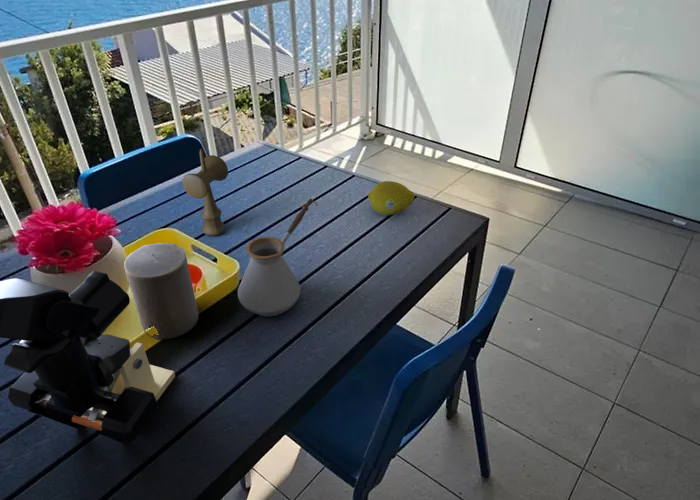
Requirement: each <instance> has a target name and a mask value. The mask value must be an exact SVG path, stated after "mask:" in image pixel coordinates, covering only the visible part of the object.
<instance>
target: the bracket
mask: <svg viewBox="0 0 700 500" xmlns="http://www.w3.org/2000/svg"><path fill="white" fill-rule="evenodd" d="M119 371H120V375H119V377H118V380H117V382H116V384H115V386H114V388H113V390H112V392H113V393H116V394H121V393H122V392H123V391H124V389H125V388H128V387H135V388H138V389H141V390H145V391H148V392H152V393H154V396H155V398H156V401H157V402H158V400H159V399H160V398H161V396H162V395H163V394H164V392H165V391H166V389H167V388H168V387H169V386H170V384H171V383H172V382H173V380H174V379H175V378H176V373H175V371H174V370H171V369H167V368H163V367H160V366H158V365H157V366H156V365H153V364H150V362H149V359H148V356H147V352H146V349H145V347H144V344H143V343H142V342H141V343H140V342H137V341H136V342H135V344H134V345H133V346H132V347H130V357H129V359H128V360H127V361H126V362H125V363H124V364H123V365H122V368H120V369H119ZM92 408H93V407H92ZM92 408H91V409H89V410H88V411H87V412H88V414H89V415H90V413H91V410H92ZM106 413H107V412H106V411H103V412H102V414H101V417H100V419H103V417H104V415H105V414H106Z"/></svg>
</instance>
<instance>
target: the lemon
mask: <svg viewBox="0 0 700 500" xmlns="http://www.w3.org/2000/svg"><path fill="white" fill-rule="evenodd" d="M367 198H368V199H369V202H370V206H371V207H372V209H373V210H374V211H375V212H377V213H378V214H381V215H383V216H395V215H398V214H401V213H402V212H403V211H405V210H406V209H407V208H408V207H410V206H411V205H412V204H413V202H414V201H415V200H414V199H415V193H414V192H413V191H412V190H410V188H408V187H407V186H406V185H404V184H402V183H399V182H397V181H391V180H385V181H381V182H379V183H377V184H375V186H374V187H373V188H372V190H371V191H370V192H368V194H367Z"/></svg>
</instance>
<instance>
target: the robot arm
mask: <svg viewBox="0 0 700 500" xmlns="http://www.w3.org/2000/svg"><path fill="white" fill-rule="evenodd" d="M130 303H131V300H130V296H129V293H128V292H126V291H125V290H124V289H123V288H122V287H121V286H120V285H119V284H118V283H116V282H115V281H113V280H112V279H111V278H110V276H109V275H108V273H106V272H101V271H98V270H92V272H90V273H89V274H88V276H87V277H86V278H85V279H84V281H83V282H82V283H81V284H80V285H78V287H76V288H75V289H74V290H73V291H72V292H71V293H69V292H68V291H67V290H66V289H62V288H57V287H54V286H50V285H46V284H42V283H38V282H34V281H31V280H27V279H23V278H18V277H17V278H9V279H4V280H0V338H2V339H10V340H17V341H19V343H13V344H12V346H11V349H10V352H9V353H8V354H7V355H6V356H5V359H4V361H3V366H5V367H8V368H11V369H14V370H17V371H20V372H23V374H22V375H21V376H20V377H18V379H17V380H16V381H15V382H14V383H13V384H12V385H11V386H10V387H9V390H8V393H7V398H8V400H9V402H10V403H11V404H12V406H13V407H17V408H20V409H24V410H26V411H28V412H29V413H31V414H35V415H38V416H40V417H43V418H45V419H49V420H50V421H51V420H52V421H54V422H58V423H60V424H63V425H64V426H65V425H66V426H68V427H71V428H73V429H76V430H80V428H81V427H82V426H83V425H81V424H77V423H74V422H72V417H73V415H75V416H78V417H81V416H82V415H84V414H85V413H87V412H88V410H89V409H91V408H92V407H93V408H96V409H99V410H103V411H106V412H107V413H106V414H105V415H104V417H103V418H102V420H101V421H102V425H101V428H102V430H101V431H100V432H98V434H99V435H100V436H102V437H106V438H108V439H110V440H113V441H115V442H117V443H121V444H123V445H124V444H125V443H129V442H131V441H134V440H136V438H137V437H138V435H139V434H140V433H141V431H143V428H144V427H145V425H146V424H147V422H148V421H149V419H150V418H151V416H152V415H153V414H154V412H155V411H156V409H157V408H158V406H159V405H158V400H157V401H156V398H155V396H154V393H152V392H148V391H145V390H141V389H138V388H135V387H128V388H125V389H124V391H123V392H122V393H121V394H116V393H113V392H109V391H106V390H104V388H105V386H106V387H109V386H110V385H111V384H112V382H113V381H114V377H113V375H112V374H114V373H115V372H116V371H118V370H119V369H120V368H122V365H123V364H124V363H125V362H126V361H127V360H128V359H129V357H130V350H131V342H130V340H129V339H127V338H123V337H119V336H116V335H112V334H109V333H108V334H107V333H105V331H106V330H107V329H108V328H109V327H110V326H111V325H112V324H113V323H114V322H115V320H117V318H119V316H120V315H121V314H122V313H123V312H124V311H125V310H126V309H127V308H128V306H129V305H130ZM104 333H105V334H104Z"/></svg>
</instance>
